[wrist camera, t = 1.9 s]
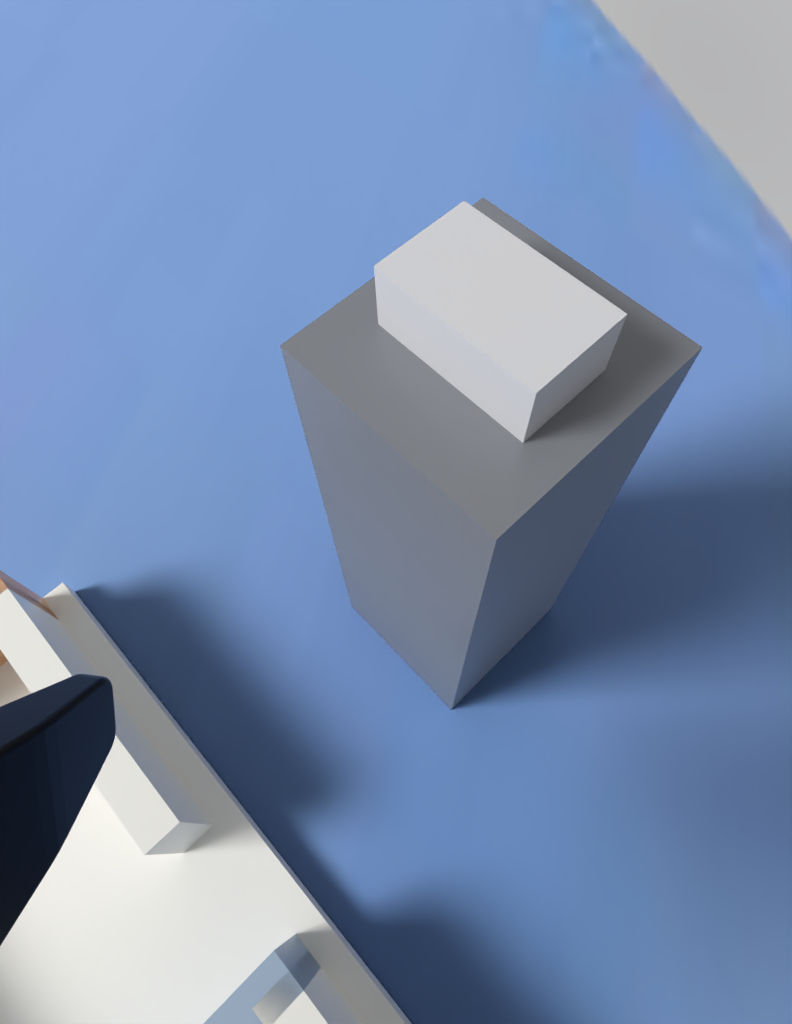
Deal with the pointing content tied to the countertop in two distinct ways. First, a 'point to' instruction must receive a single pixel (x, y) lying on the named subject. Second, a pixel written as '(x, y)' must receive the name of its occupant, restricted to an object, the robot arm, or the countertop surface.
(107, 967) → the white tray with rails
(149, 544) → the countertop surface
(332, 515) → the grey pedestal with block
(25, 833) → the robot arm
